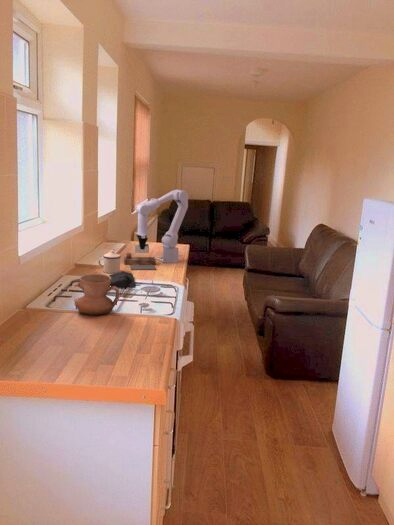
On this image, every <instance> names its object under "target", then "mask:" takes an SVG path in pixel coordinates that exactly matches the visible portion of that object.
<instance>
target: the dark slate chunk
mask: <svg viewBox="0 0 394 525" xmlns="http://www.w3.org/2000/svg"><path fill="white" fill-rule="evenodd" d="M108 276H110V277H111V284H110V286H115V287H117V288H118V289H126V288H127V289H129V288H136V283H135V276H134V274H133V273H132V272H128V271H120V272H118V273H115V274H109V275H108Z"/></svg>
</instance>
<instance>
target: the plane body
mask: <svg viewBox="0 0 394 525" xmlns="http://www.w3.org/2000/svg"><path fill="white" fill-rule="evenodd" d="M125 254H126V255H125V256H124V257H123V263H124V266H130V265H155V266H156V264H157V261H156V258H155V257H154V256H153V257H152V256H148V257H147V256H132V253H131V252H127V253H125Z"/></svg>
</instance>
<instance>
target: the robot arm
mask: <svg viewBox="0 0 394 525" xmlns="http://www.w3.org/2000/svg"><path fill="white" fill-rule="evenodd" d="M189 198H190V195H189V194H188V192H187V190H183V189H182V190H181V189H177V188H176V189H174V190H171V191H169V192H168V193H166V194H164V195H162V196H160V197H159V198H153V197H152V198H151V199H150V200H149V201H146V202H143V204H141V203H140V204H138V205H137V207H136V213H137V232H135V235H136V237H137V240H138V245H139V244H140V249H144V248H145V244H147V241H148V240H149V239H148V236H147V235H148V234H149V233H148V222H149V218H148V217H149V214H150V213H151V212H153V211H155V210H156V209H158V208H160V206H161V205H162V204H164V203H166V202H168V201H171V200H174V201H175V203H176V204H177V206H178V207H177V210H176V212H175V214H174V217H173V218H172V222H171V224H170V227H169V229H168V231H166V232H165V234H164V235H163V236H162V237H161V243H162V259H163V260H161V262H162V263H166V264H167V263H168V264H170V263H171V264H177V263H179V255H180V254H179V252H180V251H179V247H177V246H178V239H179V235H178V233H179V230H180V227H181V226H182V223H183V221H184V217H185V215H186V213H187V211H188V207H189Z"/></svg>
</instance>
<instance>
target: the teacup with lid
mask: <svg viewBox="0 0 394 525" xmlns="http://www.w3.org/2000/svg"><path fill="white" fill-rule="evenodd" d="M101 260H103V265H102V264H101ZM97 261H98V265H99V266H100V267H101V268H103V273H106V274H109V275H111V274H115V273H118V272H121V255H120V254H119V253H117V252H116V251H115V250H110V251H109V252H107V253H105V254H103V256H102V257H100V258H99V259H98V260H97Z"/></svg>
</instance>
